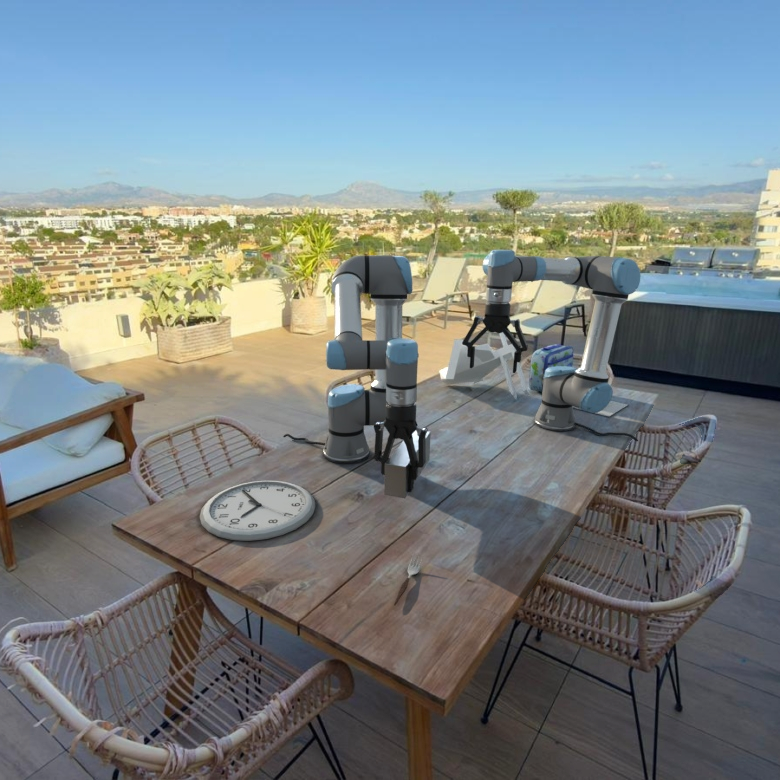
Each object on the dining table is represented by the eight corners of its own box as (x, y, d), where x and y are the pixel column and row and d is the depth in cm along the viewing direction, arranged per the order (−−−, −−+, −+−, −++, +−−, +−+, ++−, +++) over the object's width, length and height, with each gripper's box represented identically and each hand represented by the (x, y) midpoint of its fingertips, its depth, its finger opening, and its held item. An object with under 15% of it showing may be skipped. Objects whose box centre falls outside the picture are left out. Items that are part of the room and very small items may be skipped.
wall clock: (312, 532, 127) (184, 536, 124) (312, 538, 127) (185, 542, 125) (317, 476, 155) (214, 478, 153) (318, 481, 156) (214, 483, 153)
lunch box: (545, 397, 238) (550, 352, 231) (524, 391, 245) (529, 348, 239) (572, 386, 255) (578, 344, 249) (552, 381, 262) (557, 340, 256)
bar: (411, 456, 155) (412, 429, 153) (429, 459, 154) (430, 431, 151) (384, 495, 132) (384, 463, 130) (405, 498, 131) (406, 466, 128)
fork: (388, 605, 105) (388, 597, 104) (412, 560, 119) (412, 553, 119) (400, 609, 104) (400, 600, 104) (423, 563, 119) (423, 555, 118)
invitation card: (608, 416, 214) (573, 407, 224) (608, 416, 214) (573, 408, 224) (628, 404, 229) (594, 396, 238) (628, 405, 229) (594, 397, 238)
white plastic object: (461, 429, 252) (437, 405, 227) (444, 352, 274) (420, 323, 250) (535, 404, 240) (518, 377, 215) (510, 326, 262) (492, 293, 237)
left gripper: (360, 402, 127) (360, 488, 134) (434, 411, 122) (430, 500, 129) (370, 394, 134) (370, 476, 141) (441, 402, 129) (437, 487, 136)
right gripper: (455, 301, 160) (451, 367, 166) (538, 306, 151) (531, 377, 158) (461, 298, 167) (457, 362, 173) (541, 303, 158) (534, 371, 164)
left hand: (399, 487), depth 135 cm, fingers closed on bar, 6 cm apart
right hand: (492, 369), depth 165 cm, fingers open, 13 cm apart
